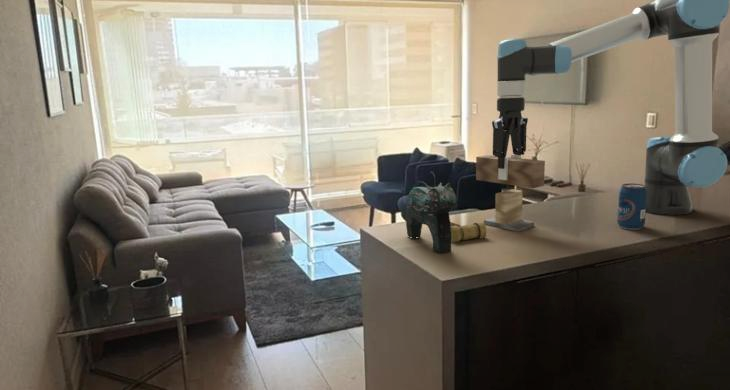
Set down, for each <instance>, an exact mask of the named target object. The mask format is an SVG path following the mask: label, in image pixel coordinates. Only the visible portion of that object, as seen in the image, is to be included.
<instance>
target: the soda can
mask: <svg viewBox="0 0 730 390" xmlns="http://www.w3.org/2000/svg"><path fill="white" fill-rule="evenodd" d="M646 202H647V191H646V189H645V185H644V184H641V183H640V184H639V183H624V184H622V185H621V188H620V189H619V191H618V203H617V219H616V220H617V221H616V222H617V224H618V225H619V227H620V228H621V229H625V230H636V231H637V230H641V229H643V227H644V226H645V224H646V215H647V214H646V213H647V212H646Z"/></svg>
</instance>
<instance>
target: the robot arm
mask: <svg viewBox="0 0 730 390" xmlns="http://www.w3.org/2000/svg"><path fill="white" fill-rule="evenodd" d="M729 11H730V0H652V1H650V2H648V3H646V4H644V5H641V6H639V7H636V8H633V11H632V12H631V13H630V14H627V15H624V16H622V17H618V18H616V19H613V20H610V21H608V22H605V23H602V24H600V25H597V26H594V27H591V28H589V29H586V30H582V31H580V32H577V33H574V34H572V35H569V36H566V37H563V38H561V39H558V40H555V41H553V42H550V43H547V44H545V45H541V46H528V45H527V40H525V39H523V38H522V39H517V38H514V39H505V40H501V41H500V42H499V44H498V47H497V48H498V49H497V57H496V58H497V91H496V92H497V93H496V94H497V97H498V98H497V99H496V110H497V112H499V116H498V119H497V120H492V122H491V125H492V156H495V157H498V179H500V180H508V157H509V156H507V153H508V148H509V141H511V148H512V154H510V157H511V158H522V156H524V155H525V152H527V125H528V121H529V119H528V117H522V116H523V115H522V112H523V111H524V110H525V102H526V101H525V100H526V98H525V97H523V96H525V95H526V75H529V76H537V75H552V74H553V75H554V74H555V75H559V74H566V73H568V72H569V70H570V69H571V66H572V63H574V62H576V61H580V60H582V59H585V58H587V57H591V56H593V55H597V54H599V53H602V52H605V51H607V50H611V49H613V48H616V47H619V46H621V45H624V44H627V43H631V42H633V41H636V40H640V41H646V40H649V39H653V38H656V37H661V36H667V38H668V39H667V41H668V43H670V44H671V45H672V46H673V47H674V104H675V105H674V107H675V109H674V111H675V112H674V113H675V114H674V115H675V117H674V118H675V119H674V121H675V128H674V129H675V133H674V134H673V135H672V136H661V137H660V136H658V137H656V136H655V137H650V138H649V139H648V141H647V146H646V149H645V151H646V154H645V156H646V157H645V158H646V159H645V170H644V171H645V173H644V183H643V185H645V189H646V191H647V202H646V213H650V214H655V215H656V214H657V215H666V214H667V215H669V216H672V215H673V216H674V215H675V216H679V215H687V214H690V213H692V210H693V202H692V199H691V195H690V191H689V188H688V187H694V188H705V187H706V188H707V187H710V186H712V185H714V184H716V183H717V182H718V181H719V180H720V179H721V178H722V177H723V176H724V174H725V173H726V171H727V168H728V158H727V155H726V154H725V153H724V151H722V150H721V148H719V140H720V139H719V135H717V134H716V133H714V131H713V42H714V40H715V39H716V38H717V37H718V36H719V35H720V24H721V23H722V22H723V21H724V19H725V18H726V17H727V15H728V14H729ZM521 155H522V156H521Z"/></svg>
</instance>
